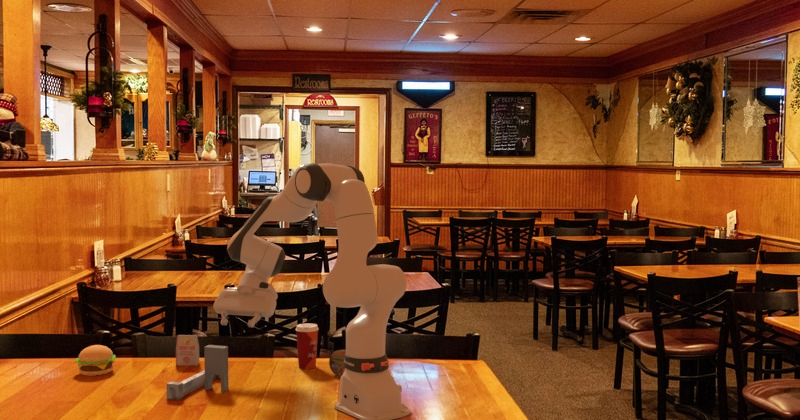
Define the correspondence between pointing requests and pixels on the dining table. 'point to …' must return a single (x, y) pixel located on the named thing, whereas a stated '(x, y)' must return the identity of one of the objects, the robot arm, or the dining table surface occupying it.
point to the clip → (216, 365)
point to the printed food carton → (187, 350)
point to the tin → (337, 362)
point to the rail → (187, 385)
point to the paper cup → (307, 345)
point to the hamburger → (95, 360)
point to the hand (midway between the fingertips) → (236, 325)
